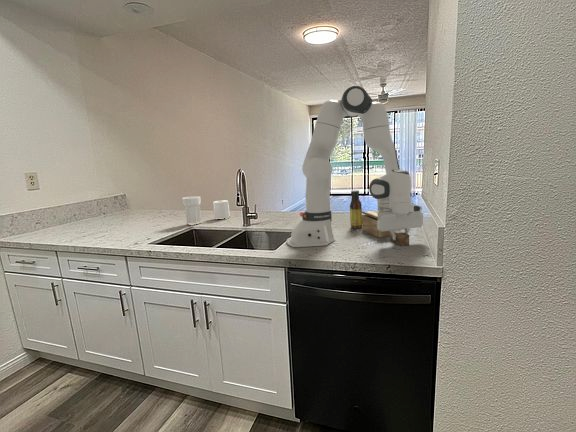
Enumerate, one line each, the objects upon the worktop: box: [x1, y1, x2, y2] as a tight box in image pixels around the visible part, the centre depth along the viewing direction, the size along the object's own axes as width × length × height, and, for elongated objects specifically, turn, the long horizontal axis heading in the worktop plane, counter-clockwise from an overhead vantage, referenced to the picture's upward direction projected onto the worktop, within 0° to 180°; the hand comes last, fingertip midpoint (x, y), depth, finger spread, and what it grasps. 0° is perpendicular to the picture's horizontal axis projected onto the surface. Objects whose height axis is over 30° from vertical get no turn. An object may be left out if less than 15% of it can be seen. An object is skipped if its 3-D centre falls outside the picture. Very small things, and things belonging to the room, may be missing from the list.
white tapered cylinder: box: [212, 199, 231, 219], centre depth 223 cm, size 10×10×12 cm
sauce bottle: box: [349, 189, 363, 229], centre depth 173 cm, size 7×6×20 cm
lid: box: [362, 210, 379, 219], centre depth 160 cm, size 11×17×1 cm
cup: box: [181, 195, 202, 224], centre depth 210 cm, size 11×11×17 cm
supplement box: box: [376, 198, 389, 211], centre depth 174 cm, size 10×9×17 cm
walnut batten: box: [390, 230, 410, 247], centre depth 142 cm, size 3×10×4 cm, turn 12°
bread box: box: [361, 214, 400, 238], centre depth 161 cm, size 11×17×8 cm
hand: (399, 239), depth 142 cm, fingers closed on walnut batten, 3 cm apart
